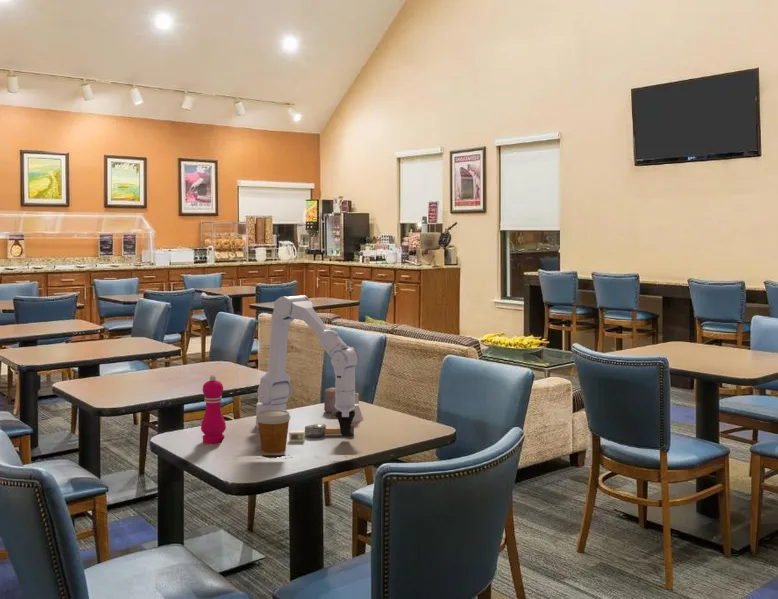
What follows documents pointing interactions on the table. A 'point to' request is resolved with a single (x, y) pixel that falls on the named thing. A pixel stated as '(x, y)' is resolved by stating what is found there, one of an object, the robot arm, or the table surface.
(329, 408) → the food item
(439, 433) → the table surface
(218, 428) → the pepper mill
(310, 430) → the wooden handled metal tool
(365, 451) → the table surface
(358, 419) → the flask
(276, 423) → the disposable coffee cup
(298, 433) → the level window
